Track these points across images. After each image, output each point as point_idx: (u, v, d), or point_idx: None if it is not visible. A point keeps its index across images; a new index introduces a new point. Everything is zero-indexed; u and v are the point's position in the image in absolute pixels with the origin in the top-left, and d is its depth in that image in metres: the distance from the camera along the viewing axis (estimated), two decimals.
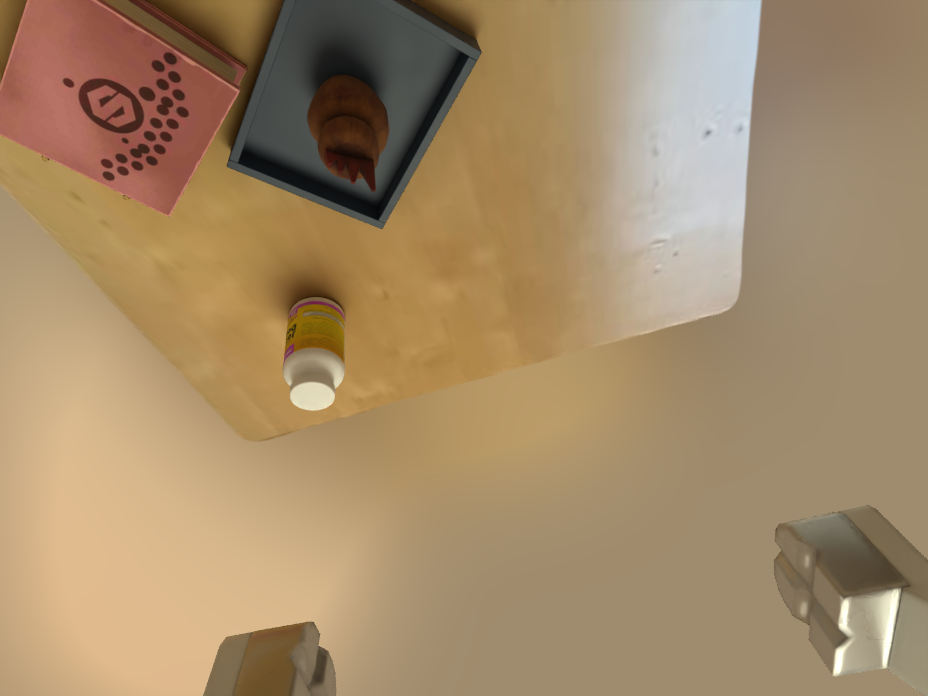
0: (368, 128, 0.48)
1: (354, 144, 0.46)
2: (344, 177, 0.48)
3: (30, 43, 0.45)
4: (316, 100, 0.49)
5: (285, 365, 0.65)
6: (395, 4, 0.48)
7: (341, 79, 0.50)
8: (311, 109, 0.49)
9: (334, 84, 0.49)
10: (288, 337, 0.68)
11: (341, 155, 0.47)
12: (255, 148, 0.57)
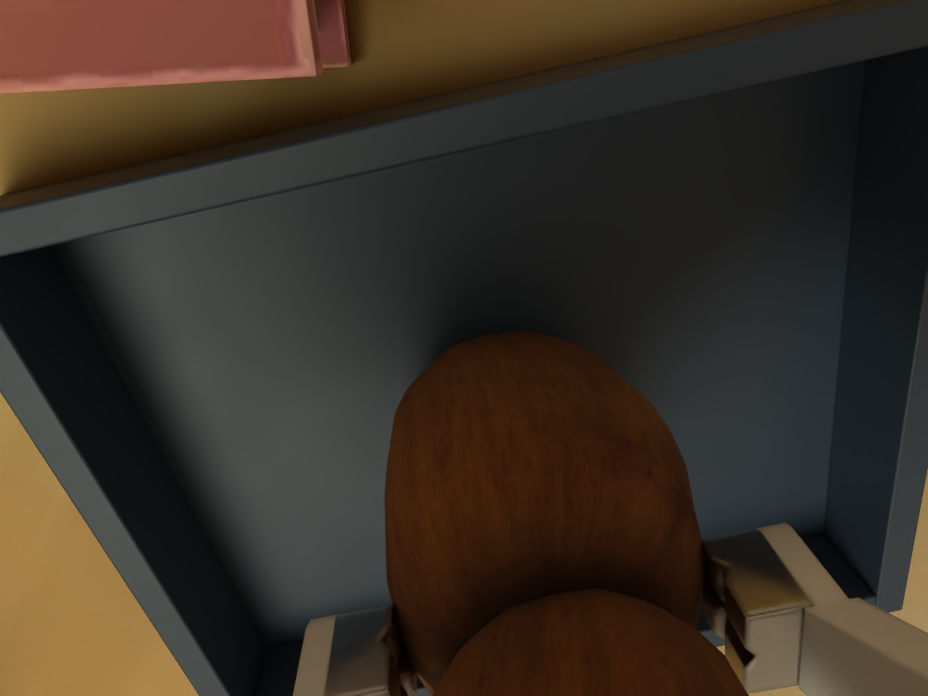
0: None
1: None
2: None
3: None
4: (573, 418, 0.09)
5: None
6: None
7: (647, 402, 0.12)
8: (521, 429, 0.09)
9: (646, 412, 0.11)
10: None
11: None
12: (96, 268, 0.14)
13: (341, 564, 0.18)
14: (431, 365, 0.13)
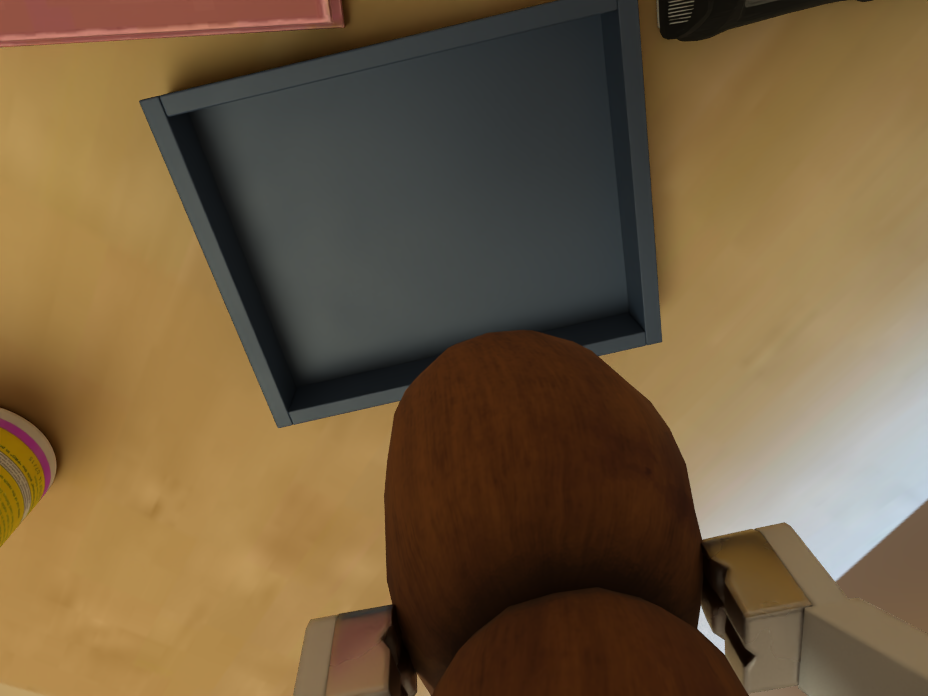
0: None
1: None
2: None
3: None
4: (572, 418, 0.09)
5: None
6: (646, 183, 0.26)
7: (647, 402, 0.12)
8: (521, 428, 0.09)
9: (646, 411, 0.11)
10: None
11: None
12: (214, 134, 0.26)
13: (341, 326, 0.31)
14: (431, 365, 0.13)
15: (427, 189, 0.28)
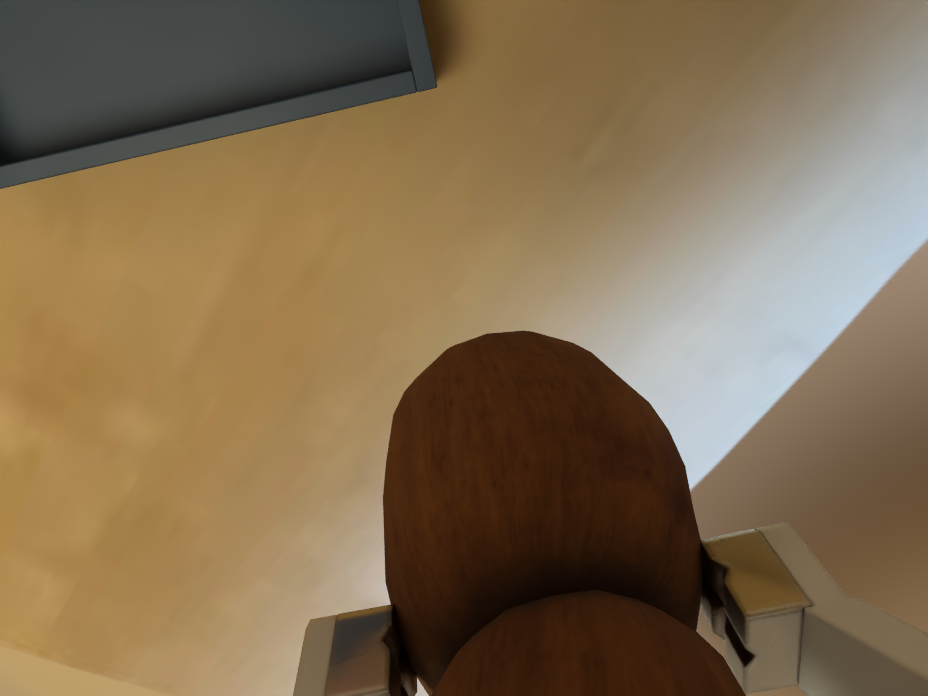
0: None
1: None
2: None
3: None
4: (571, 420, 0.09)
5: None
6: None
7: (646, 403, 0.12)
8: (520, 430, 0.09)
9: (645, 413, 0.11)
10: None
11: None
12: None
13: (41, 76, 0.24)
14: (430, 366, 0.13)
15: None
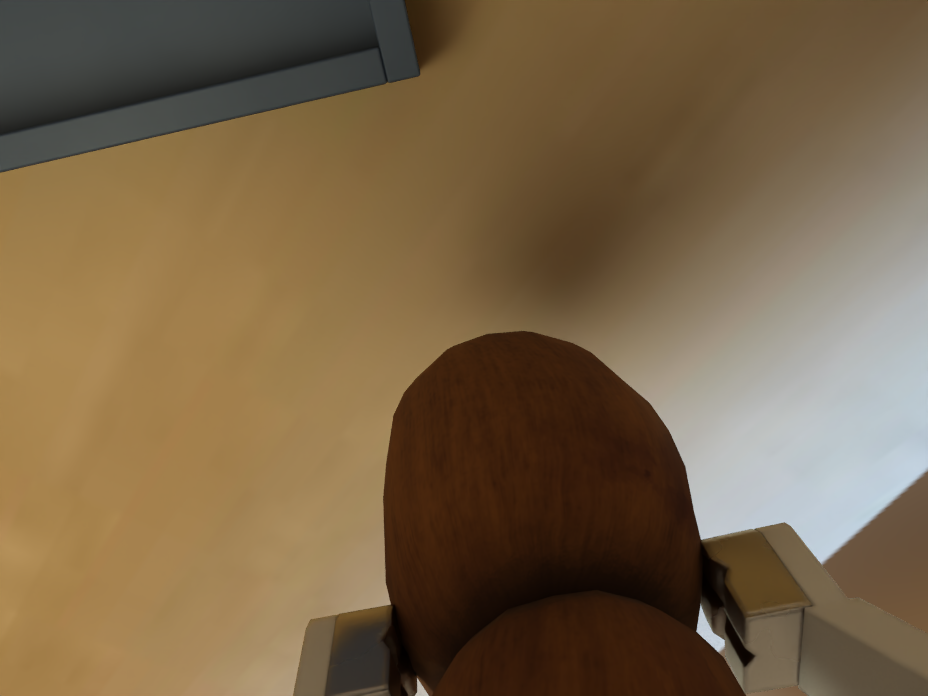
0: None
1: None
2: None
3: None
4: (571, 420, 0.09)
5: None
6: None
7: (646, 403, 0.12)
8: (520, 431, 0.09)
9: (645, 414, 0.11)
10: None
11: None
12: None
13: None
14: (430, 366, 0.13)
15: None
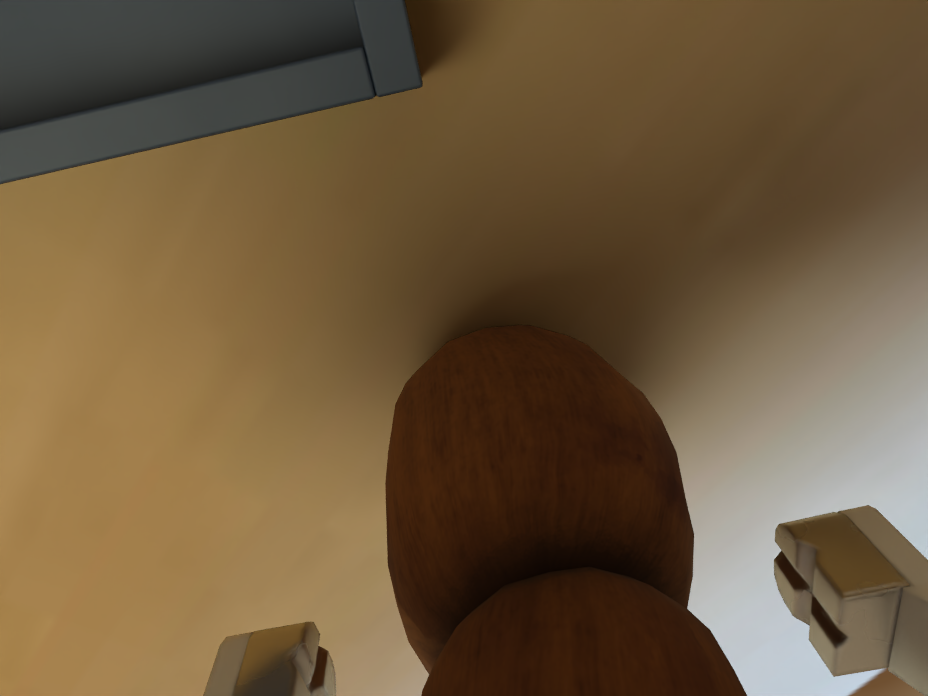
0: None
1: None
2: None
3: None
4: (566, 407, 0.10)
5: None
6: None
7: (640, 394, 0.12)
8: (517, 417, 0.10)
9: (639, 402, 0.11)
10: None
11: None
12: None
13: None
14: (431, 358, 0.13)
15: None
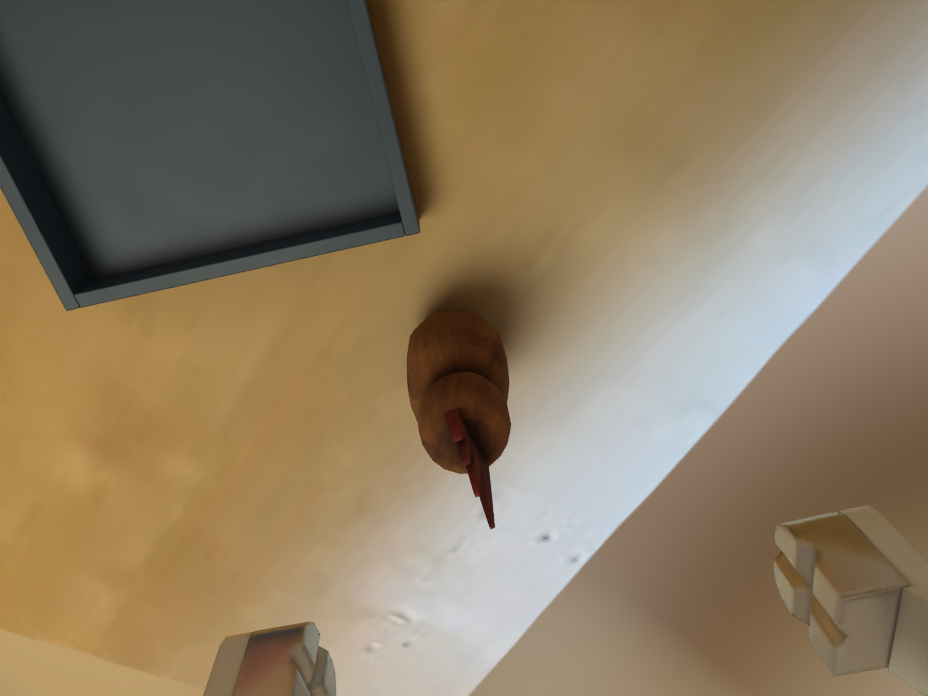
0: None
1: (494, 435, 0.29)
2: (434, 454, 0.29)
3: None
4: (464, 331, 0.32)
5: None
6: (377, 74, 0.29)
7: (496, 332, 0.34)
8: (448, 334, 0.32)
9: (491, 333, 0.33)
10: None
11: (466, 432, 0.28)
12: None
13: (130, 219, 0.33)
14: None
15: (193, 84, 0.31)
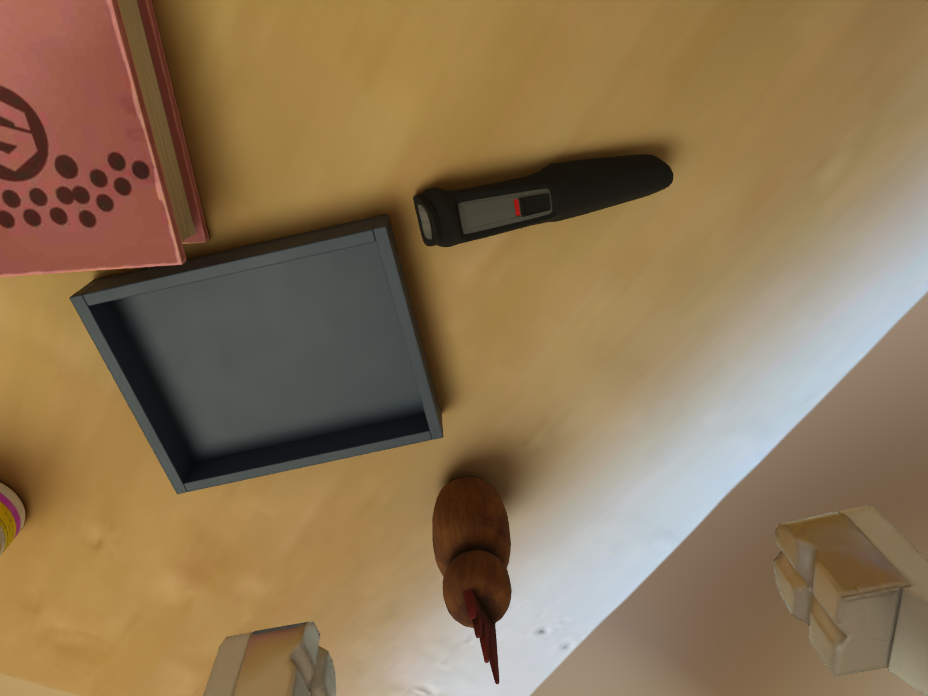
0: None
1: (499, 605, 0.39)
2: (455, 617, 0.40)
3: None
4: (476, 513, 0.43)
5: None
6: (413, 339, 0.39)
7: (501, 504, 0.45)
8: (465, 515, 0.43)
9: (497, 508, 0.44)
10: None
11: (479, 604, 0.39)
12: (125, 304, 0.39)
13: (223, 422, 0.44)
14: (444, 490, 0.46)
15: (274, 335, 0.41)
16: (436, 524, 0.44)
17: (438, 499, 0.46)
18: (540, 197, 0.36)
